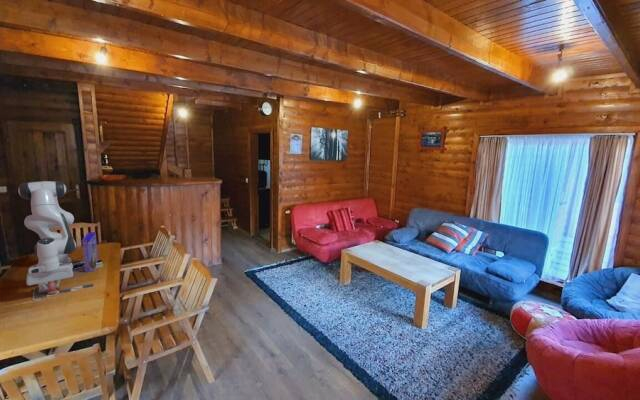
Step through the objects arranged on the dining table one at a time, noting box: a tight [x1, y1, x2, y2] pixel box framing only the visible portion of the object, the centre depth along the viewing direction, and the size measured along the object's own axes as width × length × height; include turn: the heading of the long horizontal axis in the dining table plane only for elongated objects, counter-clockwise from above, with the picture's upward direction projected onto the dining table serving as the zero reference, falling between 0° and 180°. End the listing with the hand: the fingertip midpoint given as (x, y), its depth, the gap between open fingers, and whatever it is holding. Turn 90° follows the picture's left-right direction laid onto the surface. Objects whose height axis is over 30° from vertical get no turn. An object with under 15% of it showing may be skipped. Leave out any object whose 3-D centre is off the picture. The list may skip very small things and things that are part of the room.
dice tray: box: [32, 282, 57, 297], centre depth 175 cm, size 10×10×2 cm
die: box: [37, 282, 49, 293], centre depth 175 cm, size 5×5×5 cm
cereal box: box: [81, 231, 99, 273], centre depth 208 cm, size 17×5×24 cm, turn 29°
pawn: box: [48, 280, 58, 294], centre depth 170 cm, size 4×4×9 cm
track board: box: [32, 283, 94, 301], centre depth 175 cm, size 5×28×1 cm, turn 131°
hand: (52, 287), depth 171 cm, fingers closed on pawn, 3 cm apart
